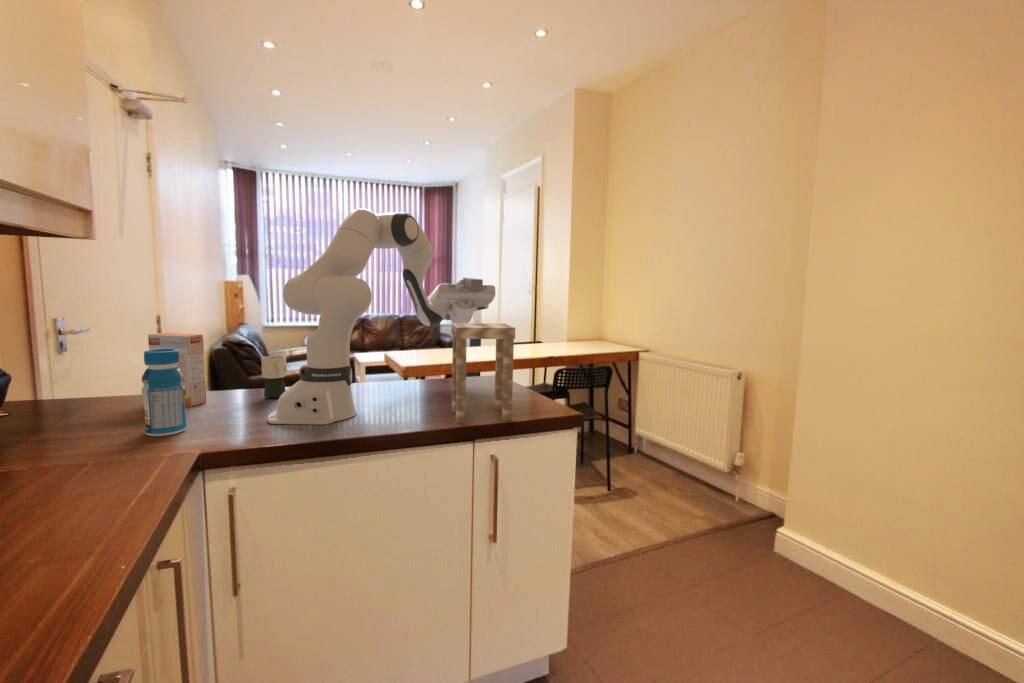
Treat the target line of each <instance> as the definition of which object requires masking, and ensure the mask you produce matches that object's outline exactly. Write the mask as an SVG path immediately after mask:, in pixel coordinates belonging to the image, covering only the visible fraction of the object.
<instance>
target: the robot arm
mask: <svg viewBox="0 0 1024 683" xmlns="http://www.w3.org/2000/svg"><path fill="white" fill-rule="evenodd" d="M394 248H395V249H396V250H397V252H398V253H399V255H400V256H401V257H400V258H401V260H402V266H403V267H402V279H403V282H404V284H405V288H406V289H407V292H408V294H409V296H410V299H411V301H412V304H413V305H414V308H415V313H416V317H417V319H418V320H419V322H420V323H421V324H422V325H424V326H425V327H428V328H433V327H438V326H440V324H441V323H442V321H443V319H444V318H445V317H446V316H447V315H448V316H449V318H450V321H451V324H452V323H471V320H473V319H472V318H473V316H474V313H475V312H477V311H480V310H487V309H489V306H490V304H491V303H492V302H493V301H494V299H495V297H496V287H495V285H493V284H483V289H482V291H470V290H467V289H465V288H463V286H464V280H463V279H459V281H458V282H456V283H453V284H452V283H447V282H441V283H438V285H437V286H436V287H434V289H433V290H432V291H431V292H430V294H429V295H428V296H427V294H426V291H425V290H424V279H425V277H426V274H427V272H428V269H429V268H430V266H431V264H432V262H433V258H434V250H433V246H432V243H431V242H430V239H429V238H428V236H427V234H426V233H425V232H424V230H423V228H422V227H421V225H420V224H419V223H418V222H417V220H416V219H415V217H414V216H413V215H412V214H410V213H408V212H404V211H397V212H378V213H374V212H373V211H371V210H369V209H367V208H363V207H362V208H355V209H354V210H352V211H351V212H350V213H349V215H347V216H346V218H345V219H344V220H343V221H342V223H341V225H340V226H339V228H338V230H337V231H336V233H335V234H334V236H333V239H332V240H331V242H330V243H329V245H328V247H327V248H326V250H325V251H324V252H323V253H322V255H321V256H320V257H319V258H318V259H317V260H316V261H314V262H313V263H312V264H311V265H310V266H309V267H308V268H307V269H305V270H304V271H303V272H301V273H299V274H298V275H295V276H294V277H291V278H290V279H288V280H287V282H286V283H285V285H284V287H283V290H282V292H283V293H282V296H283V300H284V302H285V305H286V306H287V307H288V308H289V309H290V310H292V311H296V312H297V313H301V314H304V315H315V316H320V322H319V324H318V327H317V329H316V330H314V331H312V332H311V333H310V334H309V335H308V336H307V338H306V343H305V344H306V364H303V365H302V366H300V367H299V370H298V376H299V378H298V379H299V380H298V381H296V382H295V383H294V384H292V385H291V386H290V387H288V388H287V389H285V390H286V391H285V392H284V393H283V394H282V395H281V396H280V397H278V400H277V405H276V406H277V407H276V409H275V410H273V411H272V412H270V413H269V414H268V415H267V422H268V423H269V424H270V425H271V424H273V425H274V424H275V425H277V424H279V425H280V424H282V425H321V426H322V425H329V424H332V423H334V422H339V421H343V420H347V419H350V418H352V417H355V416H356V415H357V409H356V408H355V407H356V406H355V402H354V399H353V398H354V397H353V392H352V382H353V369H352V365H351V364H350V363H351V362H350V361H351V360H350V359H351V358H350V356H351V353H350V350H351V337H352V334H353V333H352V332H353V330H354V327H355V325H356V323H357V322H358V319H359V318H360V317H362V315H363V314H364V313H366V312H367V311H368V310H369V308H370V306H371V303H372V296H373V295H372V291H371V288H370V285H369V284H368V282H366V281H365V280H364V279H362V278H359V277H357V276H359V275H360V274H361V273H362V272H363V271H364V269H365V268H366V265H367V263H368V262H369V260H370V257H371V255H372V254H373V251H374V249H386V250H387V249H394Z"/></svg>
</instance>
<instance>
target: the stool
mask: <svg viewBox="0 0 1024 683" xmlns="http://www.w3.org/2000/svg"><path fill="white" fill-rule="evenodd" d="M451 335H452V360H451V361H452V362H451V363H452V364H451V366H452V367H451V370H452V371H451V384H452V385H451V386H452V387H451V411H452V413H455V422H456V424H457V423H458V424H459V423H466V402H467V385H466V384H467V340H485V339H486V340H495V368H494V369H495V371H494V372H495V373H494V374H495V375H494V409H496V410H495V411H501V420H502V421H504V422H505V421H506V420H512V421H513V390H514V389H513V388H514V387H513V386H514V385H513V384H514V383H513V382H514V381H513V379H514V375H513V374H514V348H515V346H514V345H515V343H514V342H515V339H516V327H515V326H512V325H509V324H507V323H481V322H480V323H477V322H476V323H474V322H473V323H471V322H469V323H452V322H451Z"/></svg>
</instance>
